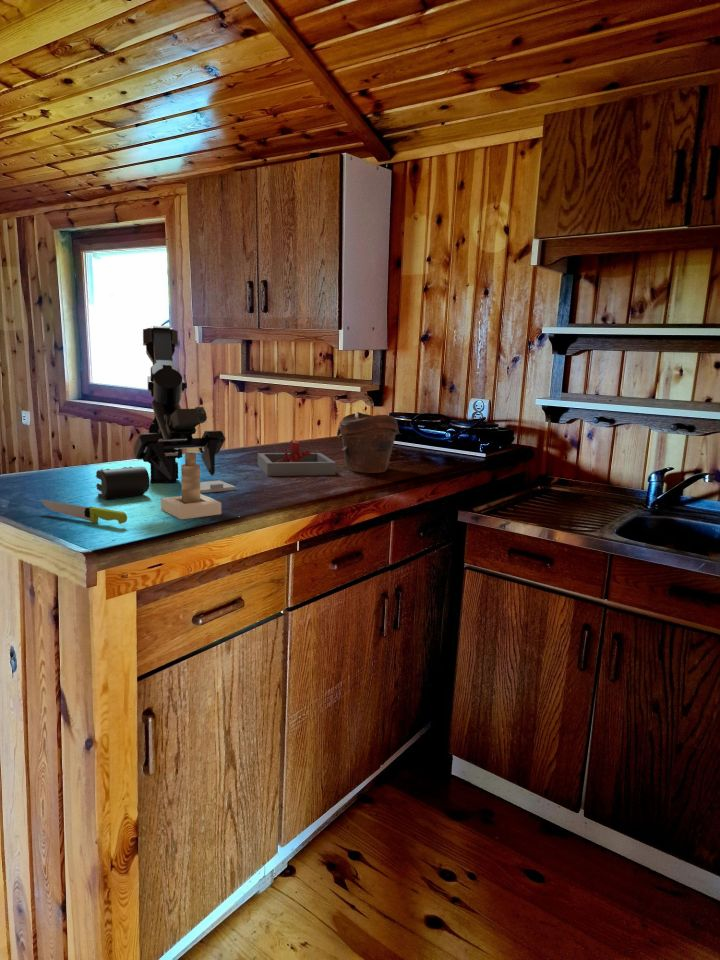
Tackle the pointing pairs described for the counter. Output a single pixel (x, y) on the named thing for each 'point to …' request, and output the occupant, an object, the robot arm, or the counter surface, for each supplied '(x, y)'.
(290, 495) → the counter surface
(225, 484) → the lid panel
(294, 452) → the diorama
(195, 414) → the robot arm
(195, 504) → the white square socket base
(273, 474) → the gray square tray
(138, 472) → the end cap
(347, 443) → the brown tapered pot
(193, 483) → the birch pin
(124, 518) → the kitchen knife
